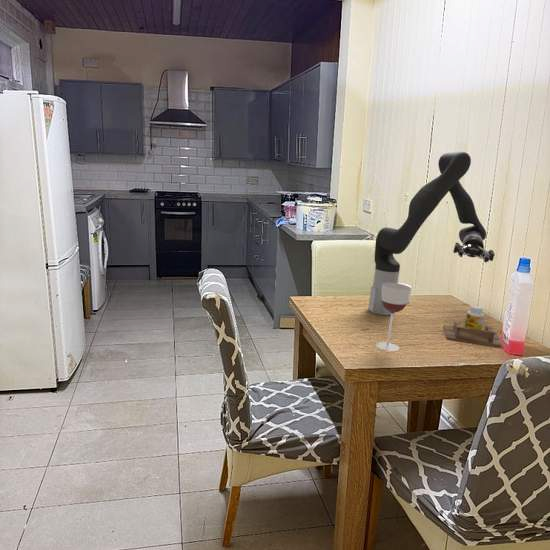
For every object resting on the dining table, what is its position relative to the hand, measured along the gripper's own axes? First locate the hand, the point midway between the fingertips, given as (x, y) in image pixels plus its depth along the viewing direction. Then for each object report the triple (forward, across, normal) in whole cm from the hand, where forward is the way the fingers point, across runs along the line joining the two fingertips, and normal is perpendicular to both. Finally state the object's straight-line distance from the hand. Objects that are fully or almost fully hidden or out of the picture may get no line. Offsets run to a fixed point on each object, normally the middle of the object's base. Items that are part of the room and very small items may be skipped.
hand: (473, 257), depth 184 cm
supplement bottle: (+14, +5, +24) cm, 28 cm away
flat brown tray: (+14, +5, +24) cm, 29 cm away
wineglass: (+41, -21, +23) cm, 52 cm away
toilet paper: (-22, -23, +33) cm, 46 cm away
